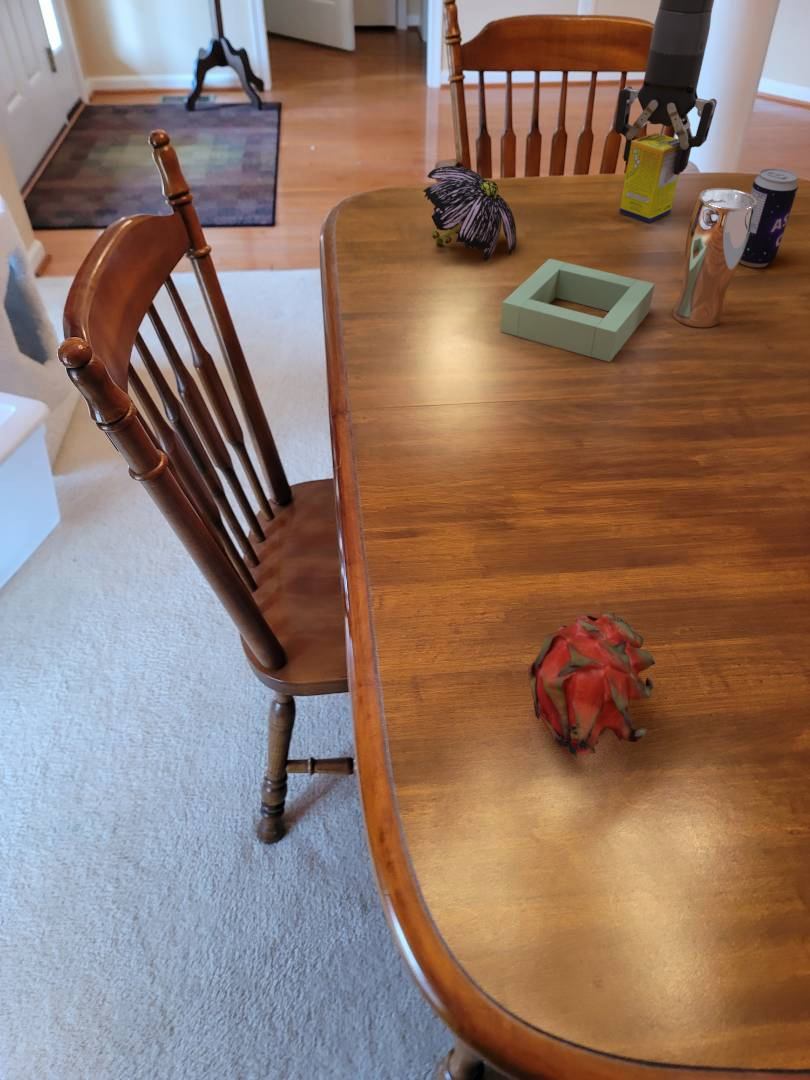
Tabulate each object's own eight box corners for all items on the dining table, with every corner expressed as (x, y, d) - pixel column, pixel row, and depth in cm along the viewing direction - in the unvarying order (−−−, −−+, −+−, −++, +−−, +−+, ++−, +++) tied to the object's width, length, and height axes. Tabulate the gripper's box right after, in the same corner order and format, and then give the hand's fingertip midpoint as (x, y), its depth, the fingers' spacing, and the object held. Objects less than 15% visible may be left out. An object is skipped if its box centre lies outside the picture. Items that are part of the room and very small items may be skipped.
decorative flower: (501, 208, 108) (419, 147, 112) (461, 286, 115) (385, 227, 119) (551, 206, 119) (475, 151, 123) (512, 278, 126) (441, 224, 130)
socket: (648, 312, 108) (655, 283, 105) (609, 362, 99) (615, 331, 96) (545, 286, 113) (549, 258, 110) (499, 331, 104) (502, 301, 101)
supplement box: (639, 203, 135) (653, 131, 128) (671, 214, 132) (687, 140, 124) (617, 212, 132) (630, 139, 125) (649, 224, 129) (664, 149, 122)
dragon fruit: (608, 662, 67) (568, 797, 60) (529, 602, 65) (479, 734, 58) (689, 634, 60) (655, 781, 54) (605, 566, 59) (558, 710, 52)
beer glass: (727, 332, 104) (762, 211, 94) (670, 327, 105) (699, 207, 95) (721, 306, 109) (754, 189, 99) (667, 301, 110) (694, 185, 100)
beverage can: (762, 273, 116) (790, 185, 108) (725, 261, 119) (749, 174, 111) (780, 260, 119) (808, 174, 111) (743, 249, 122) (767, 164, 114)
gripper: (736, 46, 116) (706, 170, 127) (637, 34, 121) (616, 153, 133) (722, 58, 111) (692, 185, 122) (619, 44, 117) (599, 167, 128)
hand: (653, 168), depth 127 cm, fingers closed on supplement box, 7 cm apart
